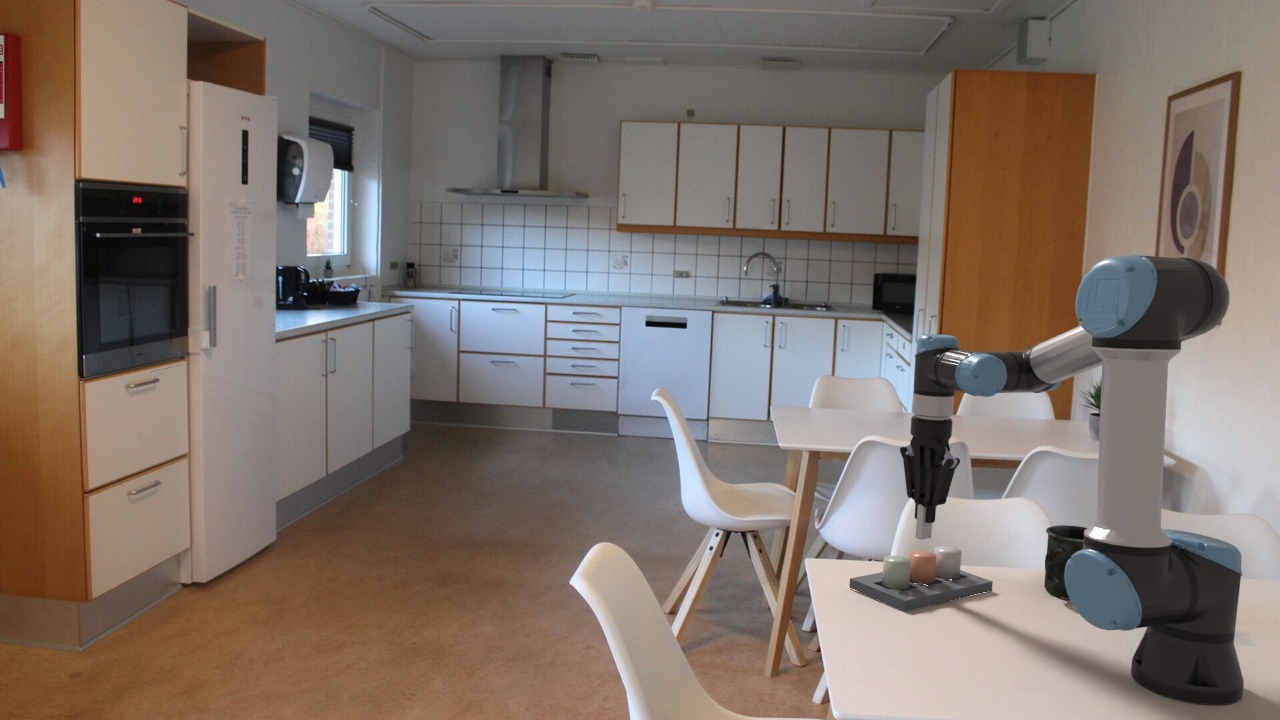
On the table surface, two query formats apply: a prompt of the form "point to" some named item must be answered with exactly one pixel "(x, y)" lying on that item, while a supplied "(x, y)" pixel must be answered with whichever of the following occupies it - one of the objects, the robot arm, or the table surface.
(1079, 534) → the mug
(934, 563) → the terracotta button
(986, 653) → the table surface
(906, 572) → the sage button
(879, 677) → the table surface
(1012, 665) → the table surface
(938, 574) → the grey button
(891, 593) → the button board
